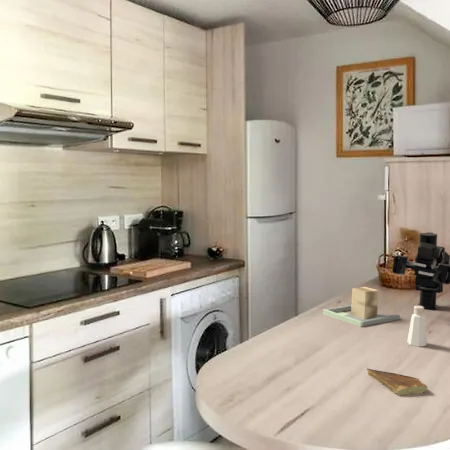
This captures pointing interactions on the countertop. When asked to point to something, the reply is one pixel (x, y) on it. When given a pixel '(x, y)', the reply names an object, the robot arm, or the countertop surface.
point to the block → (364, 302)
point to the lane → (358, 321)
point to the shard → (398, 382)
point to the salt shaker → (417, 328)
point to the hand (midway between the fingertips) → (417, 275)
